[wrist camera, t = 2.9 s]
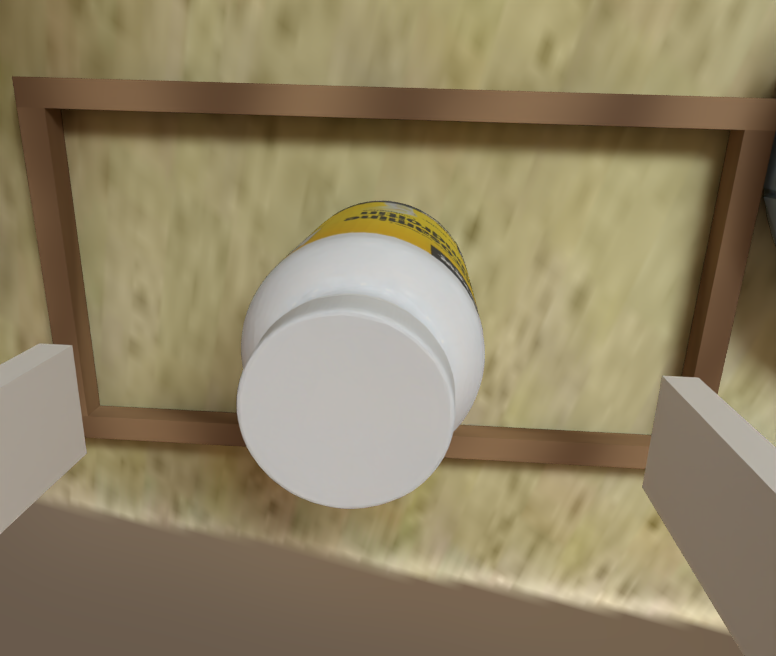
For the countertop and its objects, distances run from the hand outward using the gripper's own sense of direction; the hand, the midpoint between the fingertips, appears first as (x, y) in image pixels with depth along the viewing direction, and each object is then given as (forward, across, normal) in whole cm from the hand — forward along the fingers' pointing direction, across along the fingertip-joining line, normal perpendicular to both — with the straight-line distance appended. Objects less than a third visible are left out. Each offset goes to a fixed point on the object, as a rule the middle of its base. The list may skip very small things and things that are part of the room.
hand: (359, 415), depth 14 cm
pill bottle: (+11, 0, 0) cm, 11 cm away
